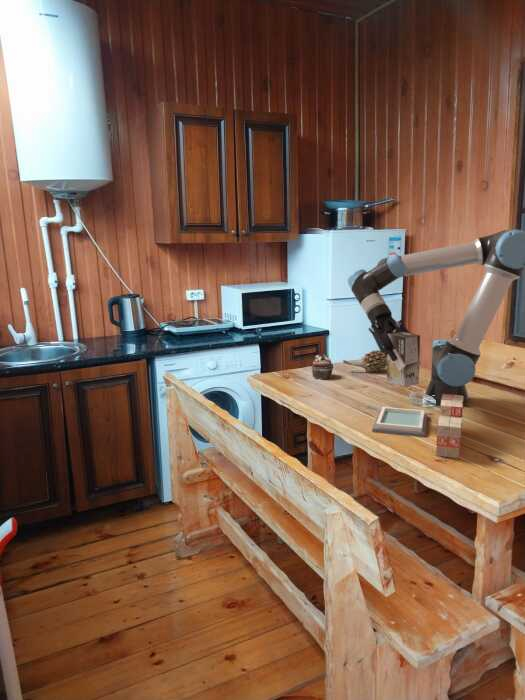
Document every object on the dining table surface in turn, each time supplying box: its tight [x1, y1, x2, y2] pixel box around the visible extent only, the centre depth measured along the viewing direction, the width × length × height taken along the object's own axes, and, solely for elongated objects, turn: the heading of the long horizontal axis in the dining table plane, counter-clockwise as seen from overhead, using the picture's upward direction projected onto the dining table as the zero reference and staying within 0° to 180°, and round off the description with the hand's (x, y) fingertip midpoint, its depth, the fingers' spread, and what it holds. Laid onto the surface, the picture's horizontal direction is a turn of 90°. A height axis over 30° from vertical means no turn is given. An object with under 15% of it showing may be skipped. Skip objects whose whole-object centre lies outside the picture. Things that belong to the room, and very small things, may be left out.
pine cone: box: [342, 349, 387, 373], centre depth 238 cm, size 22×10×10 cm, turn 94°
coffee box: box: [386, 331, 421, 388], centre depth 169 cm, size 9×6×16 cm
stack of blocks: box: [435, 394, 464, 459], centre depth 156 cm, size 21×6×12 cm, turn 158°
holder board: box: [372, 406, 428, 438], centre depth 173 cm, size 16×19×2 cm
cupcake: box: [310, 353, 334, 381], centre depth 231 cm, size 10×10×10 cm
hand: (410, 366), depth 166 cm, fingers closed on coffee box, 7 cm apart
